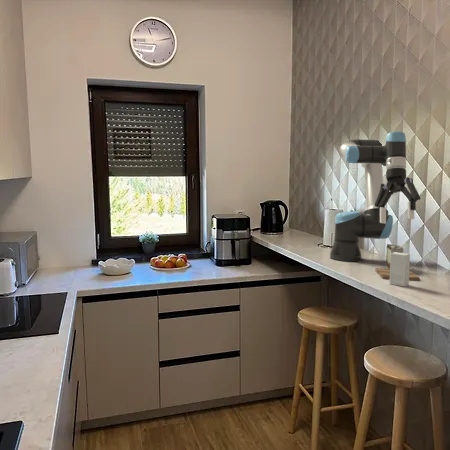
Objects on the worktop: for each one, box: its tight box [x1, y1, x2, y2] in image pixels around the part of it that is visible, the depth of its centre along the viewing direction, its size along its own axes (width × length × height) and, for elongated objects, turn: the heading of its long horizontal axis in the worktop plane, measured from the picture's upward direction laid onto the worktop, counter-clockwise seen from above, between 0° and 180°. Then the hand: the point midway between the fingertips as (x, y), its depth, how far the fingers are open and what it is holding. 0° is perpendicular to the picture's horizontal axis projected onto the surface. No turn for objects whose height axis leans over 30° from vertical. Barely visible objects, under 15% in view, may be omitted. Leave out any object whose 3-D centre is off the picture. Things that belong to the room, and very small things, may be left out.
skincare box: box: [388, 252, 411, 287], centre depth 159 cm, size 6×4×12 cm
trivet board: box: [374, 267, 420, 282], centre depth 174 cm, size 14×14×1 cm
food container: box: [385, 243, 405, 269], centre depth 187 cm, size 12×6×10 cm, turn 168°
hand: (396, 221), depth 166 cm, fingers open, 13 cm apart
